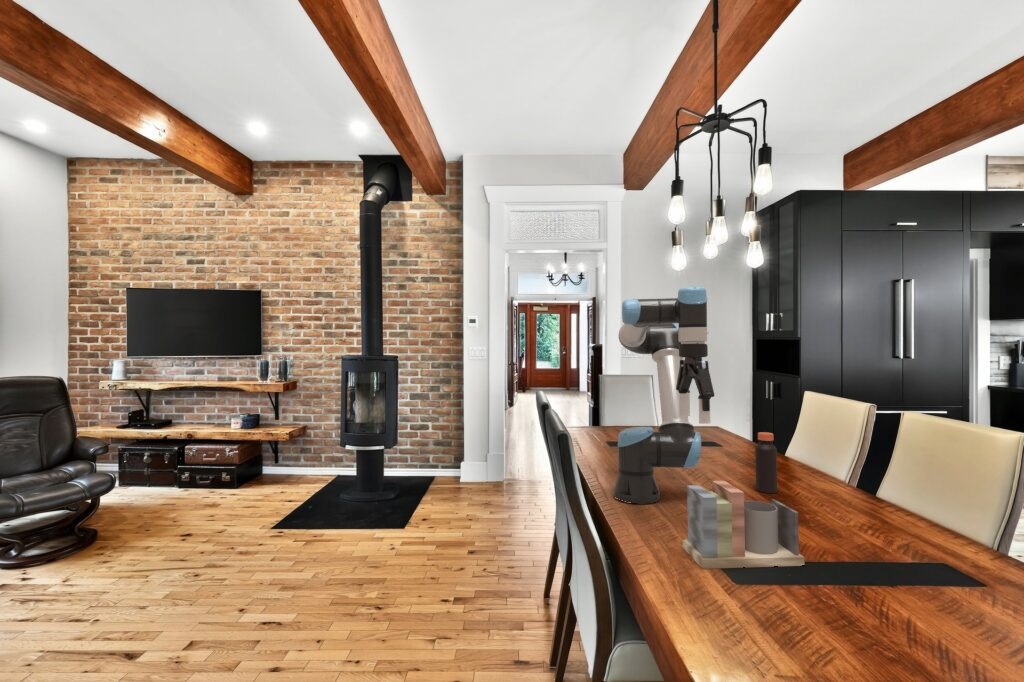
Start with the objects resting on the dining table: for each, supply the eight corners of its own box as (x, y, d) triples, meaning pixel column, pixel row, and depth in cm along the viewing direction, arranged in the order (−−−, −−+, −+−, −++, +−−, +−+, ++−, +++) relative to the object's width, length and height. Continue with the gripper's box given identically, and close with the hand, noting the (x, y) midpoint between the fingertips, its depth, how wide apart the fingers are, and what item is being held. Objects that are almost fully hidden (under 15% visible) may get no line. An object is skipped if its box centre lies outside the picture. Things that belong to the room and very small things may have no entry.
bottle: (781, 491, 171) (780, 433, 172) (771, 494, 168) (770, 435, 168) (762, 486, 177) (761, 430, 177) (751, 490, 173) (750, 433, 173)
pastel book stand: (682, 547, 126) (681, 480, 126) (775, 544, 127) (774, 478, 127) (702, 568, 114) (701, 494, 114) (804, 565, 115) (803, 492, 115)
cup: (762, 557, 115) (762, 514, 115) (732, 544, 122) (731, 504, 122) (785, 549, 119) (784, 508, 119) (754, 538, 126) (754, 498, 126)
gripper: (727, 342, 125) (728, 426, 125) (688, 342, 150) (689, 412, 150) (698, 343, 125) (699, 427, 125) (664, 343, 150) (665, 413, 150)
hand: (694, 419), depth 137 cm, fingers open, 13 cm apart
